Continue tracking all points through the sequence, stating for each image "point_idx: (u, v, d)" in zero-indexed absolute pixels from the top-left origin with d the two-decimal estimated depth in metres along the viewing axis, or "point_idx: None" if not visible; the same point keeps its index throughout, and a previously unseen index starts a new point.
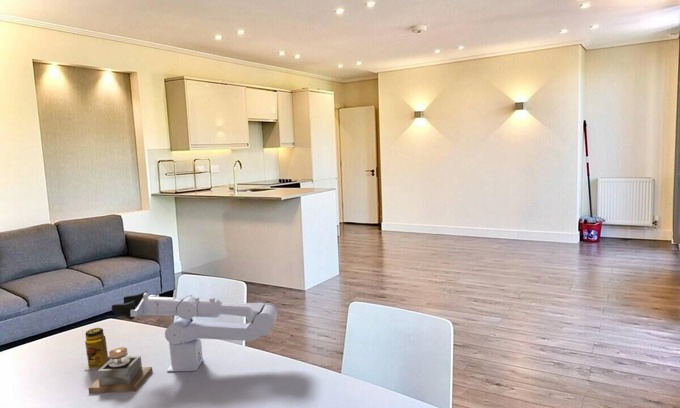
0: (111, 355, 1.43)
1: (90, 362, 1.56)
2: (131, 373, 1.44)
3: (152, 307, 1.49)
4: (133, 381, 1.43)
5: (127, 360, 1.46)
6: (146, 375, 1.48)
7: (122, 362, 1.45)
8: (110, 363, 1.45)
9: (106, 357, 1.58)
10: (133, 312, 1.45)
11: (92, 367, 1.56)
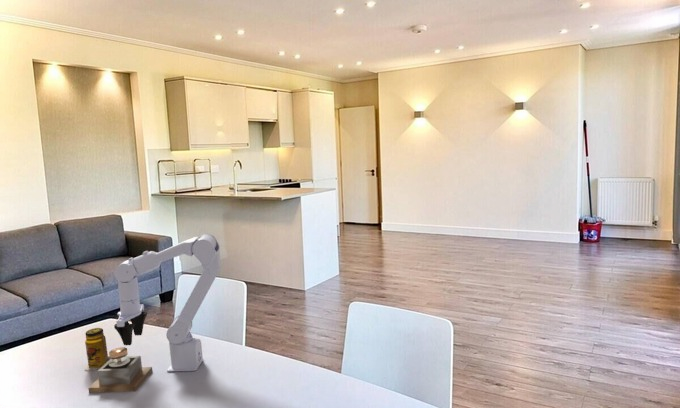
0: (111, 355, 1.43)
1: (90, 362, 1.56)
2: (131, 373, 1.44)
3: (123, 306, 1.47)
4: (133, 381, 1.43)
5: (127, 360, 1.46)
6: (146, 375, 1.48)
7: (122, 362, 1.45)
8: (110, 363, 1.45)
9: (106, 357, 1.58)
10: (118, 323, 1.44)
11: (92, 367, 1.56)
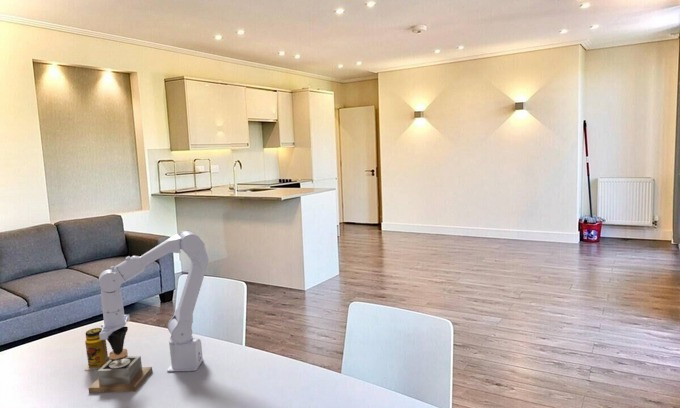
0: (111, 356, 1.43)
1: (90, 362, 1.56)
2: (131, 373, 1.44)
3: (107, 318, 1.41)
4: (133, 381, 1.43)
5: (127, 361, 1.46)
6: (146, 375, 1.48)
7: (122, 363, 1.45)
8: (110, 364, 1.45)
9: (106, 357, 1.58)
10: (101, 336, 1.37)
11: (92, 367, 1.56)
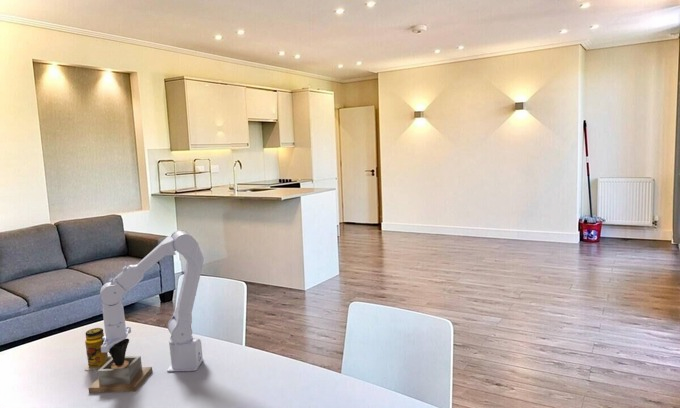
0: None
1: (90, 362, 1.56)
2: (131, 373, 1.44)
3: (108, 330, 1.41)
4: (133, 381, 1.43)
5: None
6: (146, 375, 1.48)
7: None
8: None
9: (106, 357, 1.58)
10: (103, 349, 1.37)
11: (92, 367, 1.56)
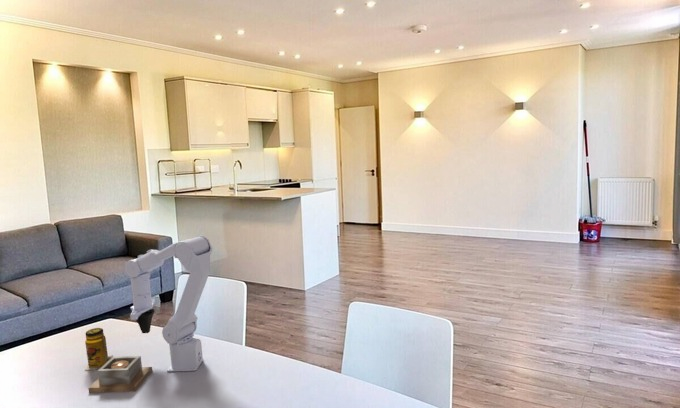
0: None
1: (90, 362, 1.56)
2: (131, 373, 1.44)
3: (136, 300, 1.56)
4: (133, 381, 1.43)
5: None
6: (146, 375, 1.48)
7: None
8: None
9: (106, 357, 1.58)
10: (132, 317, 1.52)
11: (92, 367, 1.56)
